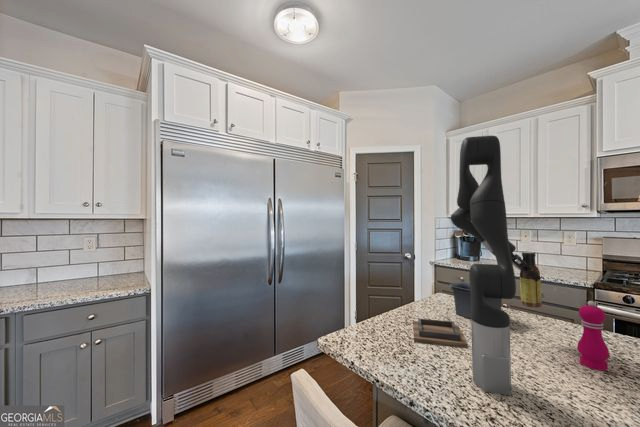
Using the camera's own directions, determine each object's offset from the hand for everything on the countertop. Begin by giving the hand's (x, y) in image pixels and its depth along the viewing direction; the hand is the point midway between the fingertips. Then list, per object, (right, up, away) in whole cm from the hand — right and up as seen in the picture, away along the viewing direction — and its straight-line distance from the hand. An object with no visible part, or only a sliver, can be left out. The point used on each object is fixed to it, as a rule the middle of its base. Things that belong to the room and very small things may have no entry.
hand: (535, 278), depth 103 cm
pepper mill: (+5, -24, -16) cm, 29 cm away
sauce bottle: (-1, -11, 0) cm, 11 cm away
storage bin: (-7, -25, +26) cm, 36 cm away
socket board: (-34, -24, +7) cm, 42 cm away
